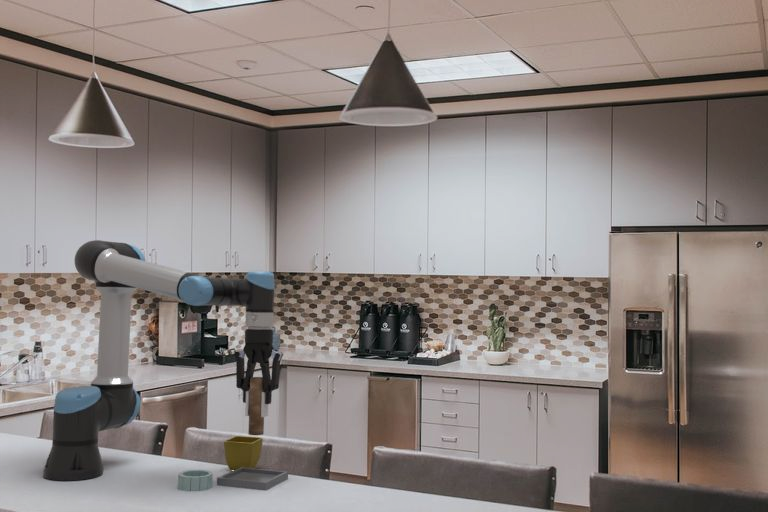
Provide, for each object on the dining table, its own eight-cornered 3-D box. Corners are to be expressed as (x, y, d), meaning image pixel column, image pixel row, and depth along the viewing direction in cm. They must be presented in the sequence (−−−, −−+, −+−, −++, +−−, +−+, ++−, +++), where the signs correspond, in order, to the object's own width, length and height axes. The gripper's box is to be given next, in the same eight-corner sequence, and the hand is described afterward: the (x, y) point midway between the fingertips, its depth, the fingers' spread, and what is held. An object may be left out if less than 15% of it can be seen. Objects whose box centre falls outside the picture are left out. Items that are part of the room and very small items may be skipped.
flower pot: (251, 475, 217) (252, 442, 217) (222, 472, 218) (223, 440, 219) (262, 468, 225) (263, 437, 226) (234, 466, 227) (235, 435, 227)
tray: (216, 487, 201) (217, 477, 201) (241, 476, 215) (241, 467, 215) (265, 492, 197) (265, 482, 197) (287, 481, 211) (288, 471, 211)
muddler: (245, 434, 205) (247, 377, 206) (252, 432, 209) (254, 376, 210) (259, 435, 204) (261, 378, 205) (266, 433, 208) (267, 377, 209)
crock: (171, 491, 196) (172, 475, 196) (189, 484, 204) (189, 468, 204) (201, 494, 193) (201, 478, 194) (217, 487, 201) (218, 471, 202)
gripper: (224, 327, 207) (221, 415, 206) (282, 329, 202) (279, 419, 201) (237, 327, 214) (234, 412, 213) (293, 328, 210) (291, 415, 208)
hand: (256, 415), depth 207 cm, fingers closed on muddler, 4 cm apart
